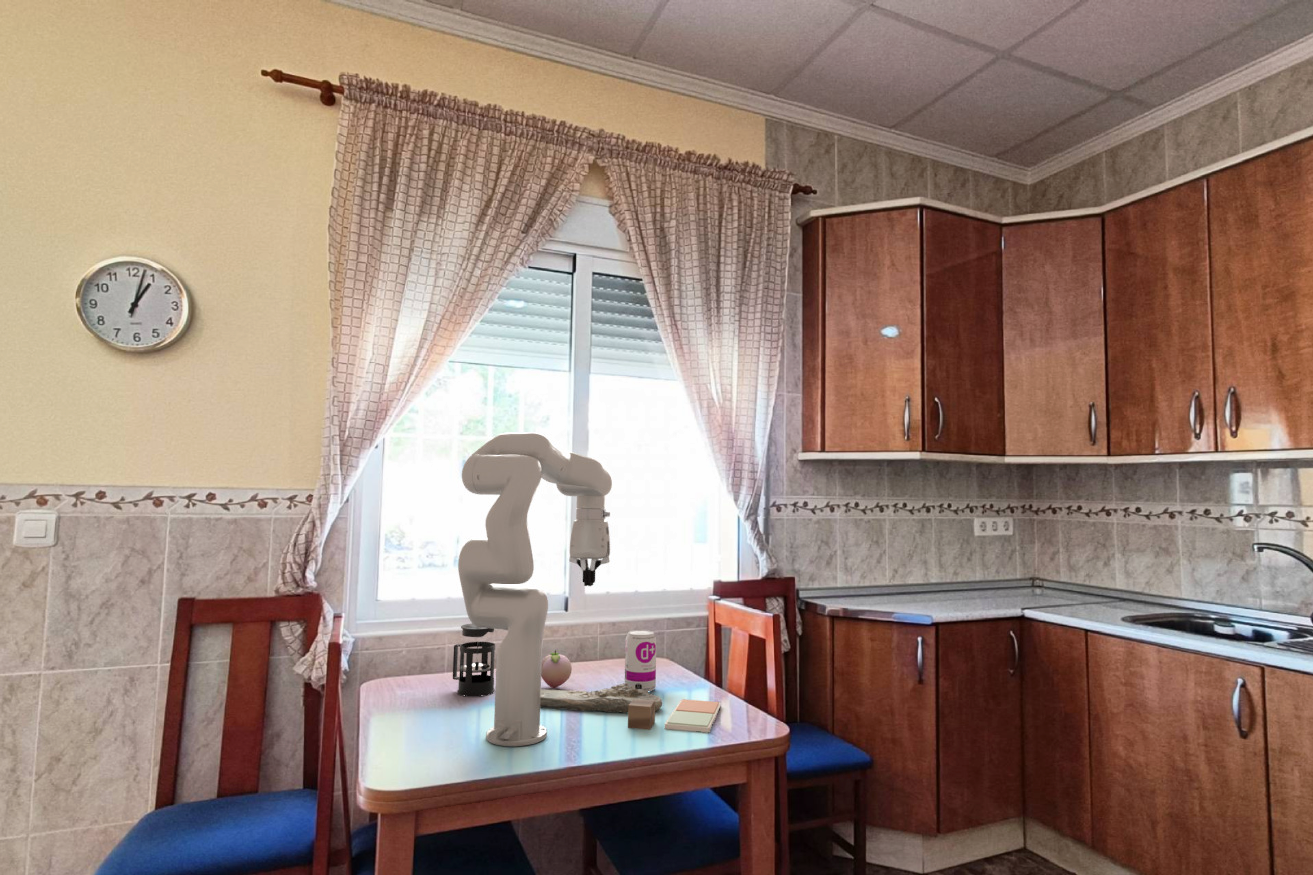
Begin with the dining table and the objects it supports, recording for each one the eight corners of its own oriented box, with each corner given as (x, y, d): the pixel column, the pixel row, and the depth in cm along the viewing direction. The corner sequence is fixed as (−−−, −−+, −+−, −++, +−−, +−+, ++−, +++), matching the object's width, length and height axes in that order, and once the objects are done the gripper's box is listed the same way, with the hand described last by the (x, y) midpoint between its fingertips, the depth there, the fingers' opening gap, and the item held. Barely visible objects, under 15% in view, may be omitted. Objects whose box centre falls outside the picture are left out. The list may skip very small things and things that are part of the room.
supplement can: (660, 692, 187) (661, 634, 189) (630, 695, 184) (631, 636, 186) (649, 684, 195) (650, 629, 196) (620, 687, 192) (621, 630, 193)
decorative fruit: (575, 691, 187) (576, 652, 187) (544, 694, 184) (545, 654, 184) (566, 682, 195) (567, 645, 196) (536, 685, 192) (537, 647, 193)
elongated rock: (528, 703, 181) (515, 716, 171) (528, 682, 181) (515, 694, 171) (664, 703, 176) (659, 717, 166) (664, 681, 177) (658, 694, 167)
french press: (502, 688, 188) (505, 600, 190) (486, 698, 179) (490, 605, 181) (462, 685, 191) (465, 598, 193) (444, 694, 182) (448, 603, 184)
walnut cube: (649, 730, 157) (650, 706, 157) (627, 728, 158) (628, 704, 158) (654, 723, 162) (655, 700, 162) (633, 721, 163) (633, 698, 163)
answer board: (709, 732, 155) (709, 726, 155) (664, 728, 157) (664, 722, 158) (721, 707, 175) (721, 701, 175) (681, 703, 177) (681, 698, 177)
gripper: (621, 515, 191) (619, 584, 190) (567, 514, 194) (565, 582, 193) (614, 516, 184) (612, 588, 182) (559, 515, 187) (557, 586, 185)
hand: (588, 585), depth 187 cm, fingers closed
